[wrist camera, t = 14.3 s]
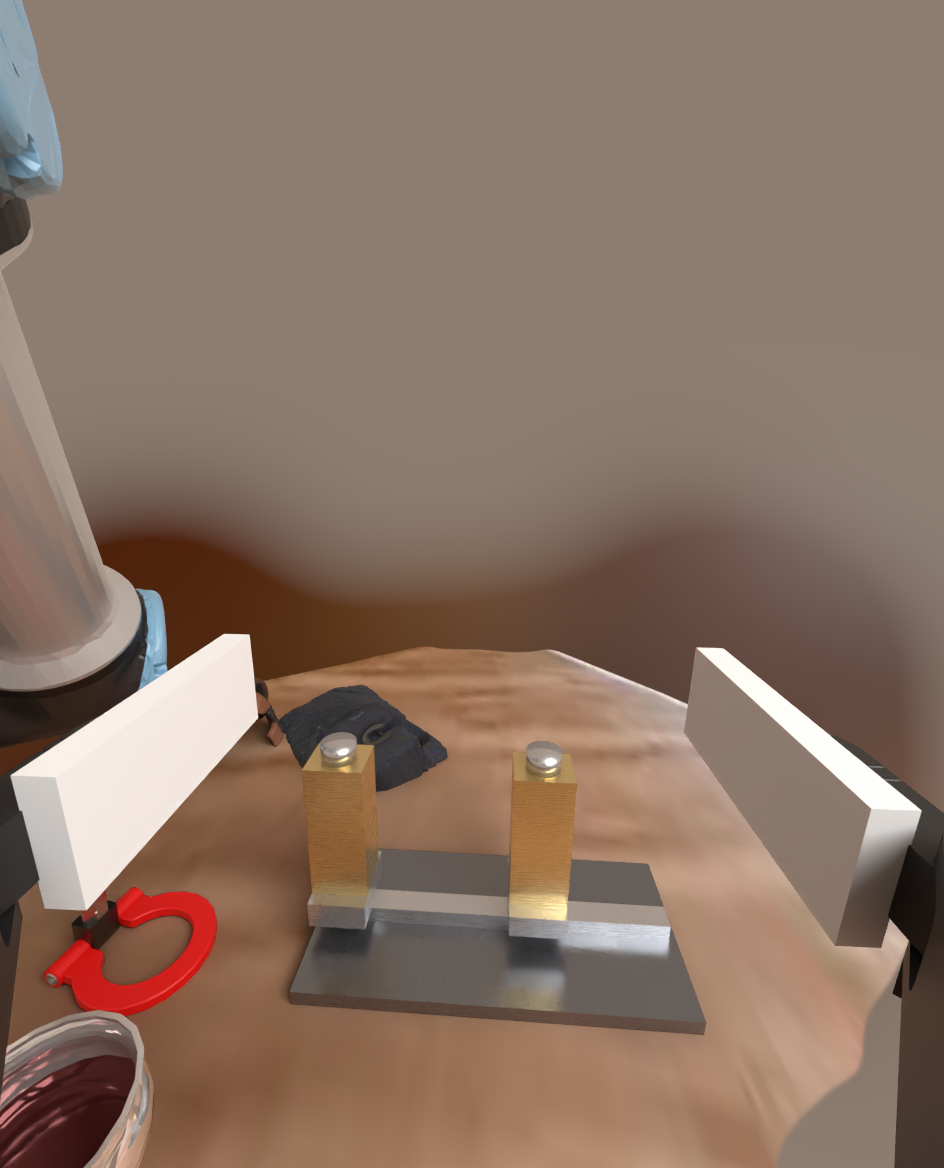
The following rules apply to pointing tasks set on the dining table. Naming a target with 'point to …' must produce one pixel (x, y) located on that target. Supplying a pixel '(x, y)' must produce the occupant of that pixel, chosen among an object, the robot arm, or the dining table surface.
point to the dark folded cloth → (364, 733)
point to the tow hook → (131, 910)
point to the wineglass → (76, 1095)
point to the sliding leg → (541, 841)
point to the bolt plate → (472, 926)
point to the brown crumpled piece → (267, 712)
